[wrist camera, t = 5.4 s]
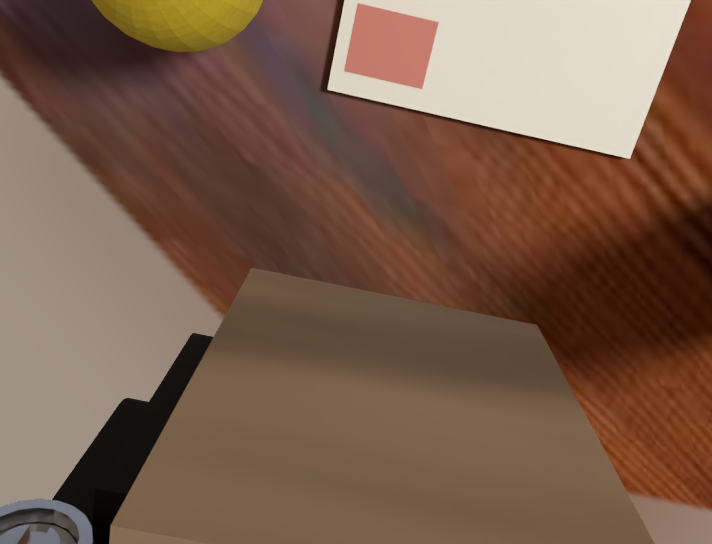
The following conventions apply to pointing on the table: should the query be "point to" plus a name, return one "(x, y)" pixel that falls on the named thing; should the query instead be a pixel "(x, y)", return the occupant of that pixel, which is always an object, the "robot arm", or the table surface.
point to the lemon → (180, 21)
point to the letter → (513, 63)
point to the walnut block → (374, 432)
